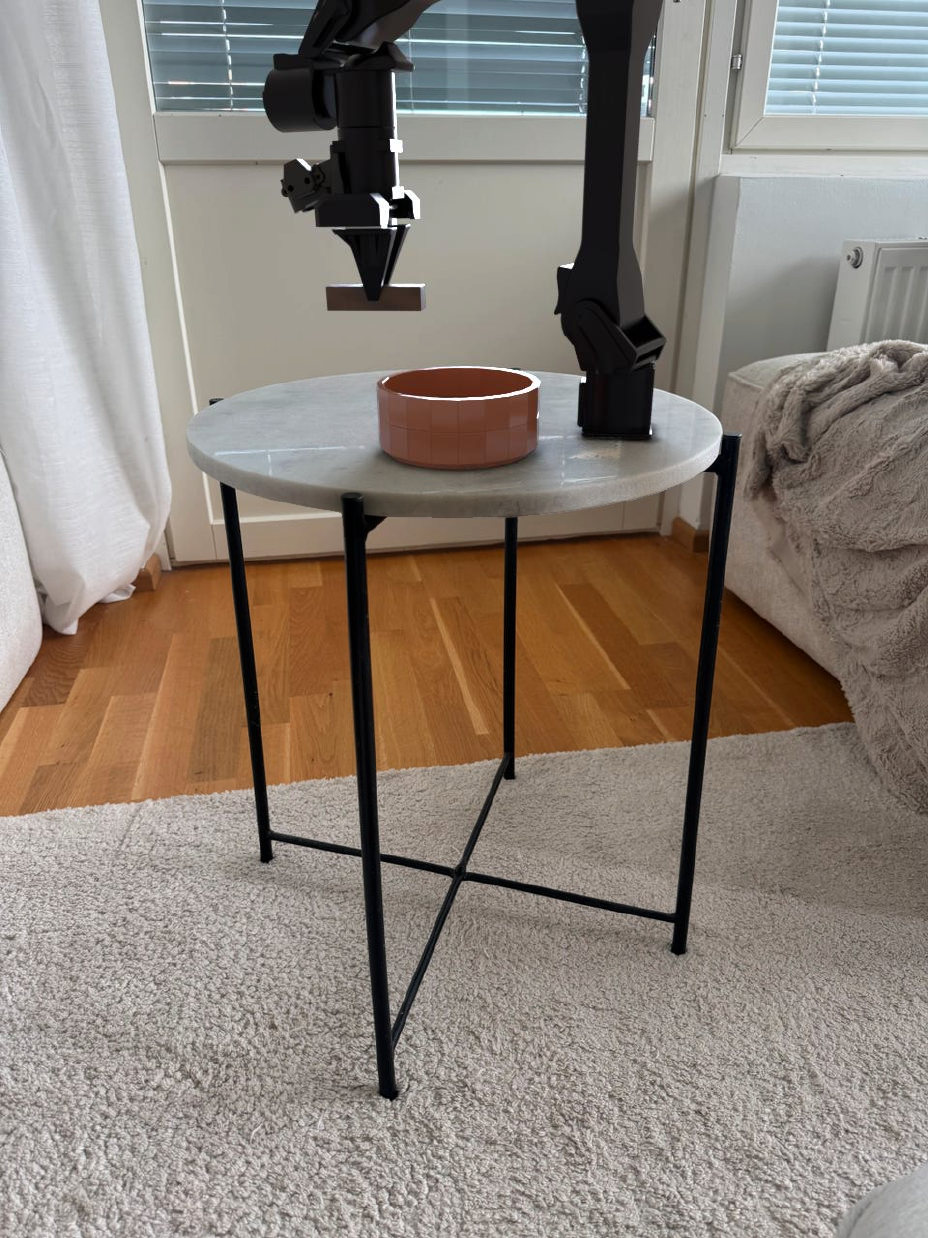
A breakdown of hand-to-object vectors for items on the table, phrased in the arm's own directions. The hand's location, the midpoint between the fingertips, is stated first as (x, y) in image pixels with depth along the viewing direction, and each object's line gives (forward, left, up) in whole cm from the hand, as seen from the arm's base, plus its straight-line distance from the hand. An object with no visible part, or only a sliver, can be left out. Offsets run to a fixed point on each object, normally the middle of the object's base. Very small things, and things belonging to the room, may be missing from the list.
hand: (376, 299), depth 95 cm
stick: (0, 0, -1) cm, 1 cm away
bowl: (-11, +17, -11) cm, 23 cm away
